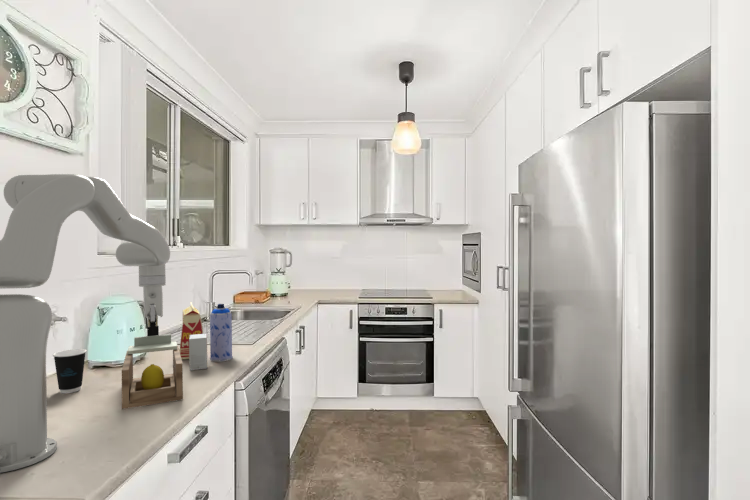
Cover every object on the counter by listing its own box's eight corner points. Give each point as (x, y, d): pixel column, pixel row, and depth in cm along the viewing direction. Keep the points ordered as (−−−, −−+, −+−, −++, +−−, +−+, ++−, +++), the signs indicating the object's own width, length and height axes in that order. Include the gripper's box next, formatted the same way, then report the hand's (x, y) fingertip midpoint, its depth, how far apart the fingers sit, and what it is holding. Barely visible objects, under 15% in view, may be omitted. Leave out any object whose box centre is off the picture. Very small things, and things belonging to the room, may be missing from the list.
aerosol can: (237, 356, 159) (236, 303, 159) (222, 362, 151) (222, 305, 151) (219, 355, 161) (219, 302, 161) (205, 360, 154) (204, 305, 154)
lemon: (153, 397, 113) (152, 367, 113) (136, 396, 114) (135, 366, 114) (168, 390, 118) (168, 361, 118) (152, 389, 120) (152, 360, 120)
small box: (207, 368, 143) (207, 337, 143) (189, 370, 141) (188, 339, 141) (207, 363, 151) (206, 333, 151) (189, 364, 149) (189, 334, 149)
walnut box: (182, 399, 114) (182, 363, 114) (122, 409, 108) (121, 370, 108) (178, 375, 135) (178, 345, 135) (127, 382, 129) (127, 350, 129)
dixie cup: (77, 384, 128) (76, 347, 128) (93, 388, 124) (92, 350, 124) (47, 392, 121) (46, 353, 121) (62, 396, 117) (62, 356, 117)
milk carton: (178, 355, 162) (177, 302, 162) (204, 352, 166) (203, 300, 166) (178, 360, 154) (177, 305, 154) (205, 357, 158) (205, 303, 158)
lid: (177, 349, 129) (177, 337, 129) (127, 354, 123) (127, 342, 123) (176, 344, 135) (176, 333, 135) (128, 349, 129) (128, 337, 129)
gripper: (166, 282, 131) (166, 342, 131) (165, 279, 144) (165, 333, 144) (138, 283, 127) (138, 345, 127) (139, 280, 140) (140, 336, 141)
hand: (153, 338), depth 136 cm, fingers closed
